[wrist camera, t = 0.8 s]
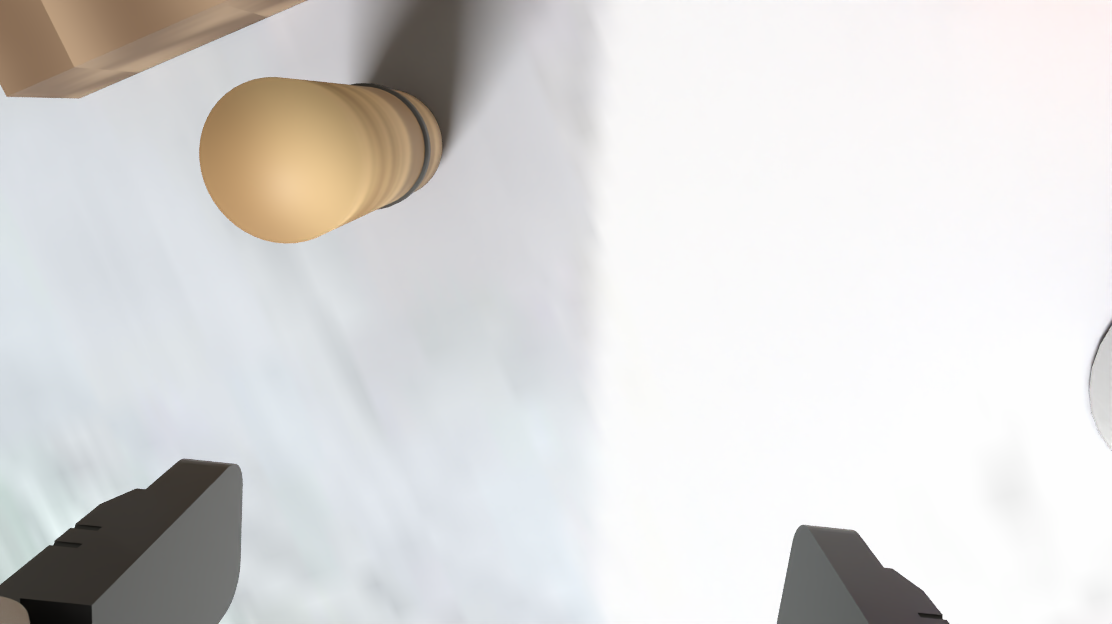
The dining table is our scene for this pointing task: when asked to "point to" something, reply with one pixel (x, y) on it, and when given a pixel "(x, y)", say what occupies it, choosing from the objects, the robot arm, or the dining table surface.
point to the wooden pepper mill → (314, 154)
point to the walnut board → (108, 39)
